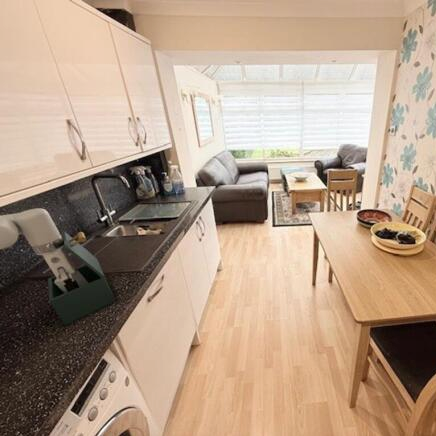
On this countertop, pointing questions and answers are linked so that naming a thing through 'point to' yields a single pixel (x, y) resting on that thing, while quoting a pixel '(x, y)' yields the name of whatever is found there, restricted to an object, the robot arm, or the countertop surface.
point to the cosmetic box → (76, 276)
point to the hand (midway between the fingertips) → (73, 286)
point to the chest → (80, 296)
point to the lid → (81, 252)
